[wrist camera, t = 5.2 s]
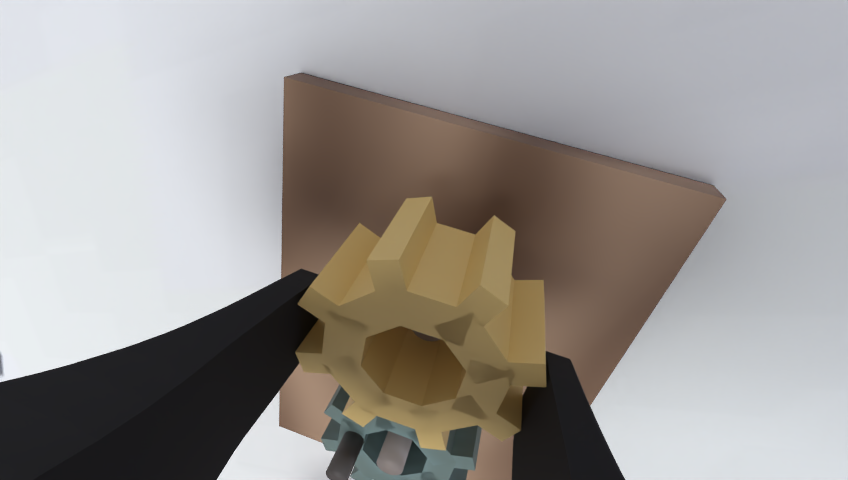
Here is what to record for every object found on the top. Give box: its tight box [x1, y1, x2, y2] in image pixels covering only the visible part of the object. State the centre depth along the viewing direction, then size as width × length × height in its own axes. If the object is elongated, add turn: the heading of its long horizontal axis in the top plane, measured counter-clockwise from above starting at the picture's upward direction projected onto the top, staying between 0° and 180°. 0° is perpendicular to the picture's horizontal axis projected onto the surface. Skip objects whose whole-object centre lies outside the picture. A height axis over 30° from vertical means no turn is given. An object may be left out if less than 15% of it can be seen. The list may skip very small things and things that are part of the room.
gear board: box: [279, 73, 726, 480], centre depth 15 cm, size 13×18×6 cm
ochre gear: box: [295, 197, 546, 451], centre depth 11 cm, size 6×6×3 cm
